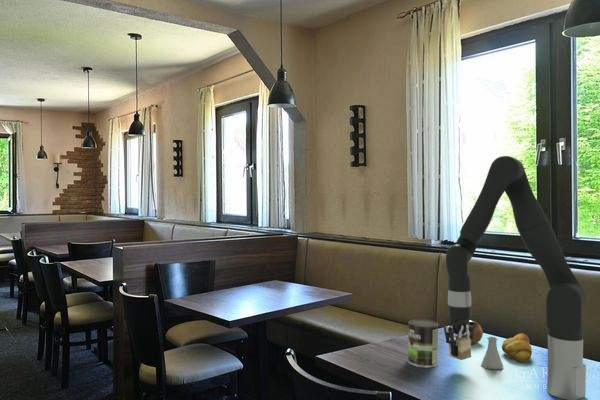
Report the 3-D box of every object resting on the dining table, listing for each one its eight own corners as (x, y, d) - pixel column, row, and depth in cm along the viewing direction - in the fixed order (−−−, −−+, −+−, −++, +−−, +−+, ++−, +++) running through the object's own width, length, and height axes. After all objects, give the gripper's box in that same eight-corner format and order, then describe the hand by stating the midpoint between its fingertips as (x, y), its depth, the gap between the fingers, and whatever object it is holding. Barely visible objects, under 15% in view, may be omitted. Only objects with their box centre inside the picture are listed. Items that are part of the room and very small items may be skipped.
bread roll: (536, 365, 171) (536, 342, 171) (506, 362, 173) (506, 340, 173) (527, 353, 183) (527, 331, 183) (499, 351, 185) (499, 330, 185)
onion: (478, 352, 192) (486, 333, 188) (454, 344, 195) (462, 324, 190) (478, 337, 201) (486, 318, 196) (455, 329, 203) (462, 311, 198)
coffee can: (420, 369, 165) (420, 328, 165) (401, 360, 174) (402, 320, 174) (444, 365, 169) (444, 324, 169) (424, 356, 179) (425, 317, 179)
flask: (505, 371, 164) (505, 341, 164) (482, 369, 166) (483, 340, 166) (501, 363, 171) (501, 335, 171) (479, 362, 173) (479, 334, 173)
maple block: (471, 357, 163) (470, 339, 163) (461, 360, 160) (461, 341, 160) (458, 353, 167) (458, 335, 167) (449, 356, 164) (448, 338, 164)
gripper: (455, 308, 157) (456, 361, 157) (482, 302, 165) (482, 353, 165) (436, 304, 163) (437, 355, 163) (463, 299, 171) (463, 347, 171)
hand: (460, 354), depth 164 cm, fingers closed on maple block, 5 cm apart
